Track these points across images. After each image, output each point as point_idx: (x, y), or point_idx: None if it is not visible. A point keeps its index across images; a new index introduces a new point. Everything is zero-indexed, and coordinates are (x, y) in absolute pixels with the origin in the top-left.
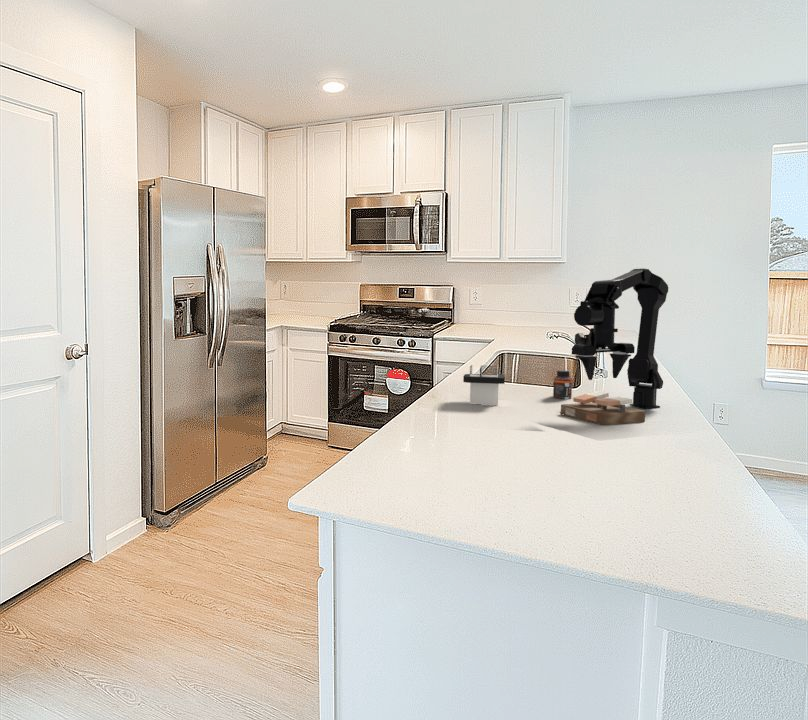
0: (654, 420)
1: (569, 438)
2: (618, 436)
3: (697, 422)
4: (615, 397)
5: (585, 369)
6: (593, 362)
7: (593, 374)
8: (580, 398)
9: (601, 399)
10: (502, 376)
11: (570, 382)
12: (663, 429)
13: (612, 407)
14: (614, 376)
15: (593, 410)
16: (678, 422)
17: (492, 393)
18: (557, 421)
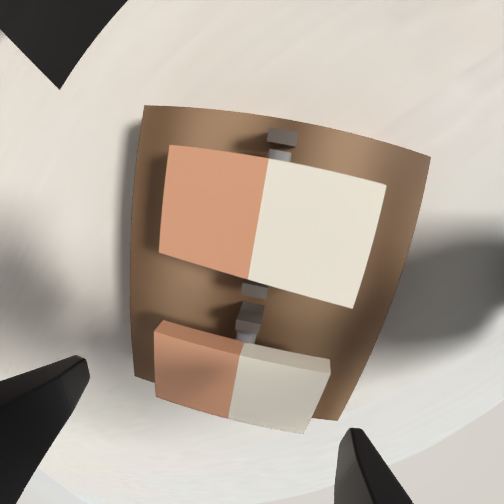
0: (384, 393)
1: (17, 361)
2: (99, 417)
3: (432, 440)
4: (294, 373)
5: (6, 384)
6: (4, 481)
7: (69, 416)
8: (171, 205)
9: (179, 354)
10: None
11: None
12: (260, 453)
13: (312, 315)
14: (343, 447)
15: (152, 315)
16: (400, 429)
17: None
18: (62, 226)
